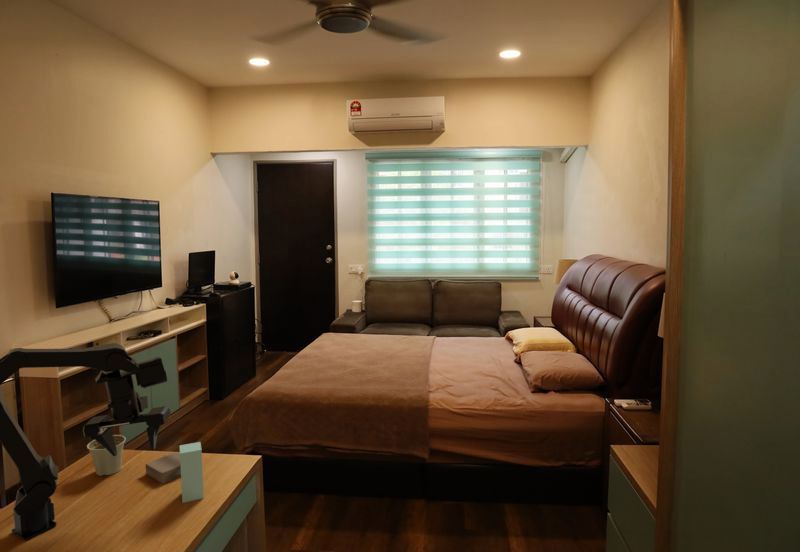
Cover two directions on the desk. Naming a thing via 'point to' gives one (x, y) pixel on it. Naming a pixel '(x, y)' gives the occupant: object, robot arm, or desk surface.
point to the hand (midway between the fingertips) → (134, 452)
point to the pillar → (191, 472)
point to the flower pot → (106, 456)
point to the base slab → (165, 468)
